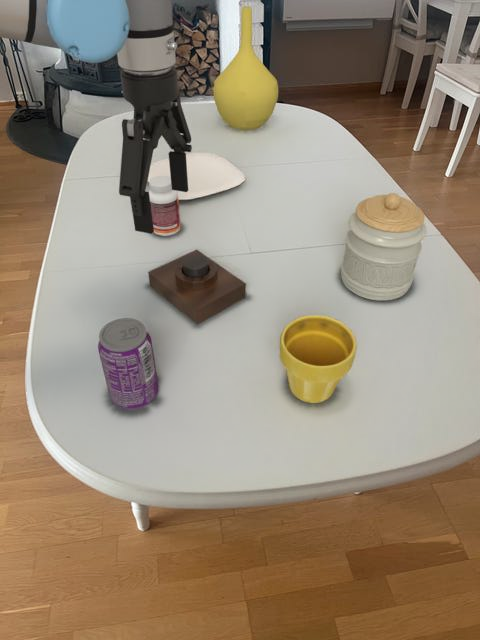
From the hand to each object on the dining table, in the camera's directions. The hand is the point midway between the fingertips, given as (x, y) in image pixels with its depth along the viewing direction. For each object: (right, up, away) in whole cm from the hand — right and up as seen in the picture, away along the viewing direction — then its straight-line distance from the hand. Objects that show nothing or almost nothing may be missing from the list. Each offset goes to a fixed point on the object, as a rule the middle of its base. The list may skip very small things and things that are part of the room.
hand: (163, 209), depth 83 cm
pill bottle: (-3, +1, +27) cm, 27 cm away
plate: (+1, +16, +43) cm, 46 cm away
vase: (+14, +40, +70) cm, 81 cm away
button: (+5, -9, +8) cm, 13 cm away
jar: (+37, -10, +14) cm, 41 cm away
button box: (+5, -13, +11) cm, 17 cm away
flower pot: (+23, -28, -6) cm, 36 cm away
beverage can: (-3, -29, -7) cm, 30 cm away
